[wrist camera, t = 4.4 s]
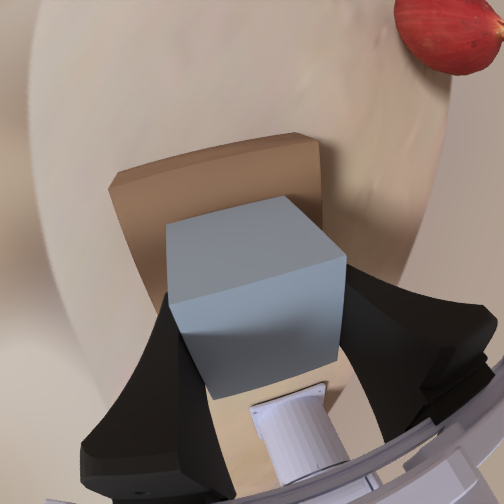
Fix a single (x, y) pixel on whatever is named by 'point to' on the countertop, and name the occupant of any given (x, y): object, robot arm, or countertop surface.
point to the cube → (255, 294)
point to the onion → (450, 33)
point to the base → (210, 192)
